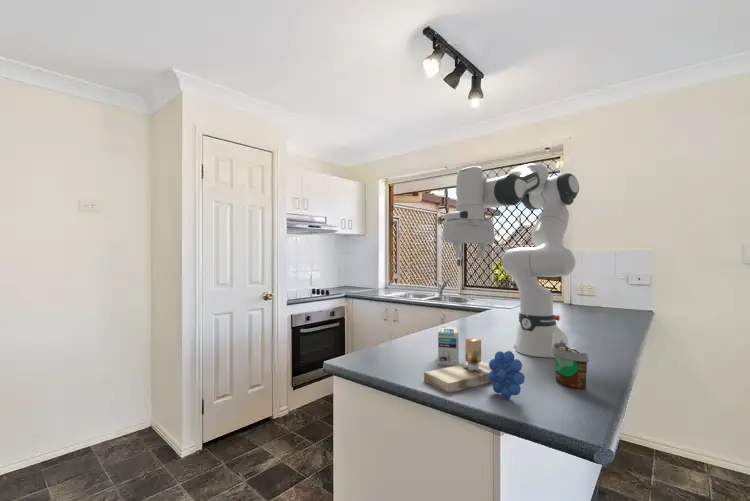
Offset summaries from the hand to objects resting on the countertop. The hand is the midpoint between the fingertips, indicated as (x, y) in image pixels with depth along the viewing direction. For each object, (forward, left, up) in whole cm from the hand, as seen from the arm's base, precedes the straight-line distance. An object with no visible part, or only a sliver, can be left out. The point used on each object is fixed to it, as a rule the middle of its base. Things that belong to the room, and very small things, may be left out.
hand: (469, 257), depth 115 cm
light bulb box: (+4, -6, -35) cm, 36 cm away
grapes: (+12, +25, -35) cm, 45 cm away
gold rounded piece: (+9, +10, -35) cm, 38 cm away
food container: (-10, +26, -35) cm, 45 cm away
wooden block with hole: (+12, +10, -35) cm, 38 cm away
